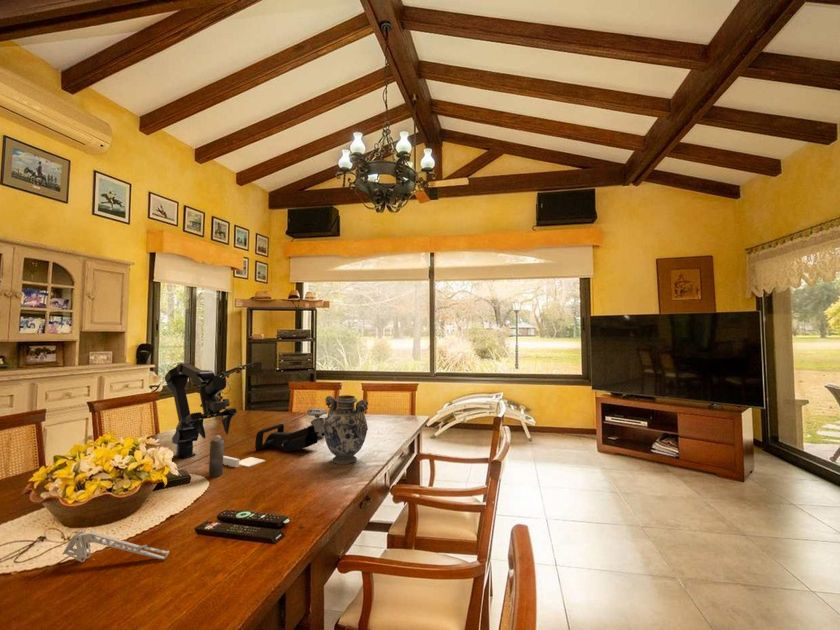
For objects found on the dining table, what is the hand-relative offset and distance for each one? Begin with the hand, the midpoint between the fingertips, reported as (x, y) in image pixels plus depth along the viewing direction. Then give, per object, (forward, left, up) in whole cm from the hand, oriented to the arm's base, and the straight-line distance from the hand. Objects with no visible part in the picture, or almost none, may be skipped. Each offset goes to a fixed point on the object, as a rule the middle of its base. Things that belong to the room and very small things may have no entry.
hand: (216, 435), depth 164 cm
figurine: (+2, +59, -13) cm, 61 cm away
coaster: (+6, +12, -13) cm, 19 cm away
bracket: (+37, -55, -14) cm, 67 cm away
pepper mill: (+7, -5, -13) cm, 15 cm away
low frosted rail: (-1, +6, -13) cm, 14 cm away
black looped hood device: (+5, +35, -13) cm, 38 cm away
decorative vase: (+39, +34, -13) cm, 53 cm away
